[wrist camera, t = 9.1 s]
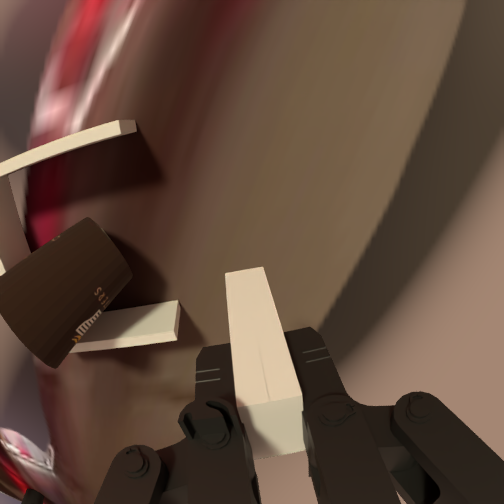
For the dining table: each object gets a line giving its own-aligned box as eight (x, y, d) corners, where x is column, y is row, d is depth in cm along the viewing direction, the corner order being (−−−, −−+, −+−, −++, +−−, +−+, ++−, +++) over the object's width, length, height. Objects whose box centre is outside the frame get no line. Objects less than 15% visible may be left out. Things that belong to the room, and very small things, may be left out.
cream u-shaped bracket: (135, 120, 24) (118, 119, 19) (180, 308, 31) (176, 340, 26) (-2, 168, 23) (-32, 178, 18) (55, 326, 30) (38, 355, 25)
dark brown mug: (87, 198, 20) (-19, 291, 15) (155, 294, 23) (62, 384, 18) (70, 214, 29) (-1, 276, 24) (116, 280, 32) (51, 341, 27)
